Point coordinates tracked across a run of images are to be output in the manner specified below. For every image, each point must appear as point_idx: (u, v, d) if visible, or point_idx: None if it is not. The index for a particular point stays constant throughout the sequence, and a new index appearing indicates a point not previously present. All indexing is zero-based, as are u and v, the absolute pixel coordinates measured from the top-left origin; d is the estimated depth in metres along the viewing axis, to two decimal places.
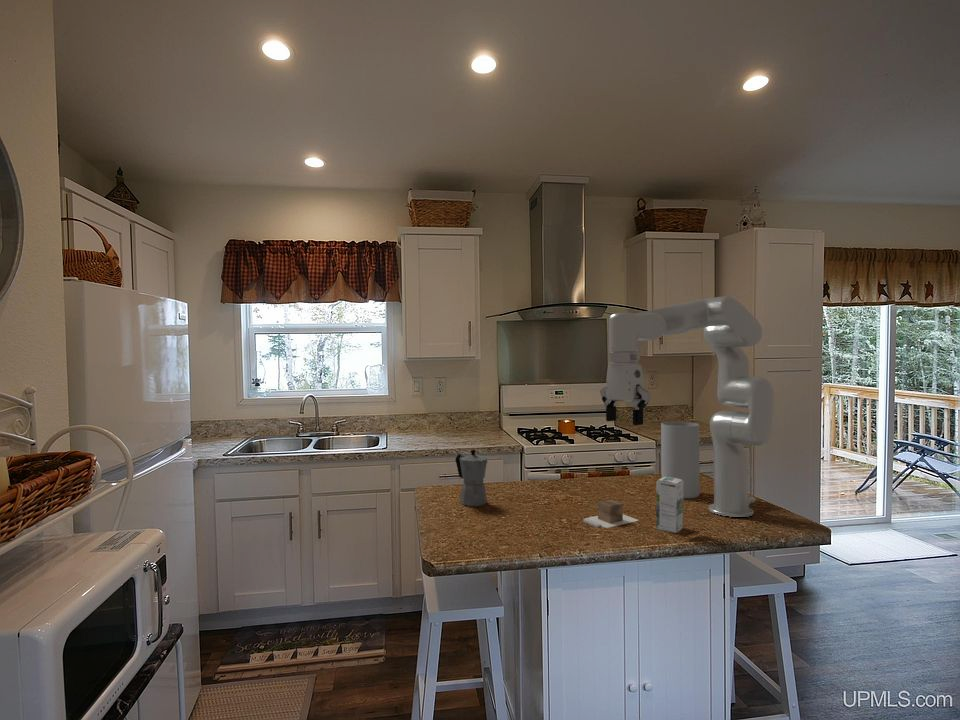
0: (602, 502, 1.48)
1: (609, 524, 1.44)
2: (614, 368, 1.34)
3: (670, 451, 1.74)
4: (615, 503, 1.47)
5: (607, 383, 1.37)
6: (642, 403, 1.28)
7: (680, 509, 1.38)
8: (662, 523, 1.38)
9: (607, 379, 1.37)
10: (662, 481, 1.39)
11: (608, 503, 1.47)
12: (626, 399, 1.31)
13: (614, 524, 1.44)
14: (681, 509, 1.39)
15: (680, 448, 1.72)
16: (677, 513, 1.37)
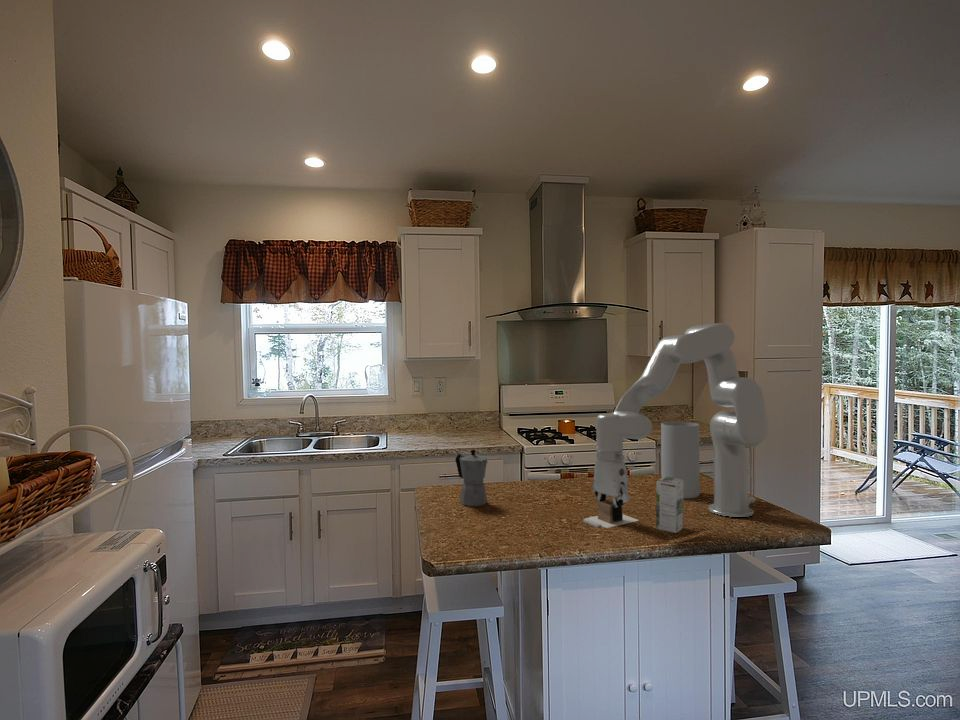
0: (602, 502, 1.48)
1: (609, 524, 1.44)
2: (601, 465, 1.47)
3: (670, 451, 1.74)
4: None
5: (595, 476, 1.50)
6: (620, 502, 1.43)
7: (680, 509, 1.38)
8: (662, 523, 1.38)
9: (595, 473, 1.50)
10: (662, 481, 1.39)
11: (608, 503, 1.47)
12: (611, 495, 1.44)
13: (614, 524, 1.44)
14: (681, 509, 1.39)
15: (680, 448, 1.72)
16: (677, 513, 1.37)
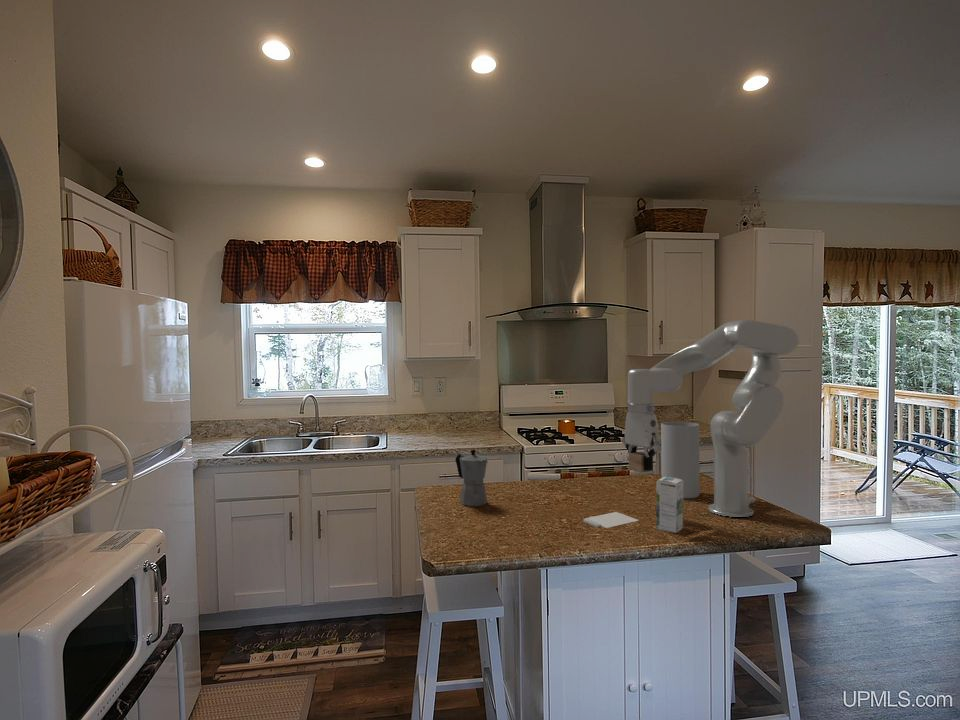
0: (633, 453, 1.55)
1: (609, 524, 1.44)
2: (633, 417, 1.54)
3: (670, 451, 1.74)
4: None
5: (626, 429, 1.56)
6: (652, 452, 1.49)
7: (680, 509, 1.38)
8: (662, 523, 1.38)
9: (626, 426, 1.57)
10: (662, 481, 1.39)
11: (639, 454, 1.53)
12: (643, 445, 1.51)
13: (614, 524, 1.44)
14: (681, 509, 1.39)
15: (680, 448, 1.72)
16: (677, 513, 1.37)
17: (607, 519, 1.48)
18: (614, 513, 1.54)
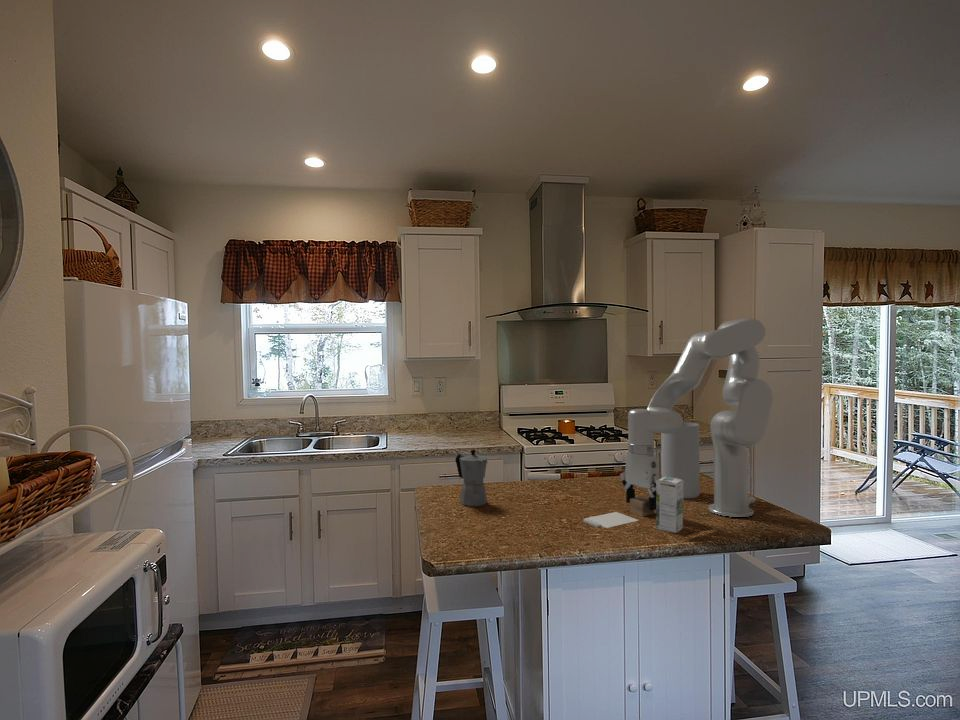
0: (634, 499, 1.55)
1: (609, 524, 1.44)
2: (633, 458, 1.54)
3: (670, 451, 1.74)
4: (647, 500, 1.53)
5: (626, 469, 1.56)
6: None
7: (680, 509, 1.38)
8: (662, 523, 1.38)
9: (626, 465, 1.57)
10: (662, 481, 1.39)
11: (640, 500, 1.53)
12: (644, 486, 1.51)
13: (614, 524, 1.44)
14: (681, 509, 1.39)
15: (680, 448, 1.72)
16: (677, 513, 1.37)
17: (607, 519, 1.48)
18: (614, 513, 1.54)
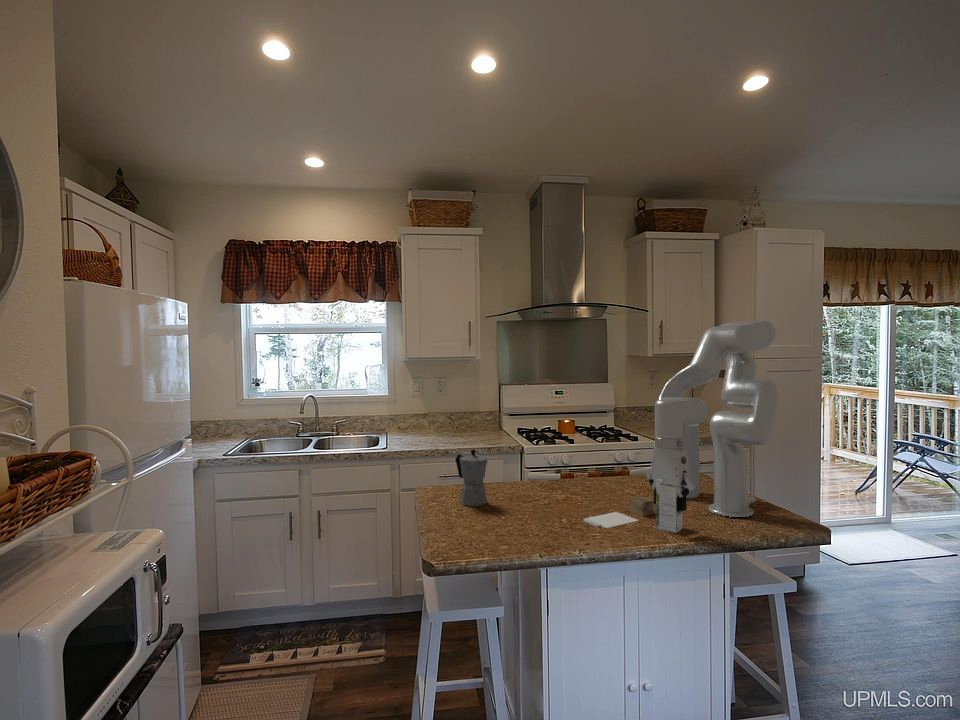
0: (634, 499, 1.55)
1: (609, 524, 1.44)
2: (660, 453, 1.39)
3: None
4: (647, 500, 1.53)
5: (652, 465, 1.42)
6: (686, 492, 1.34)
7: None
8: (662, 523, 1.38)
9: (652, 461, 1.42)
10: (662, 481, 1.39)
11: (640, 500, 1.53)
12: (673, 484, 1.36)
13: (614, 524, 1.44)
14: None
15: None
16: (677, 513, 1.37)
17: (607, 519, 1.48)
18: (614, 513, 1.54)
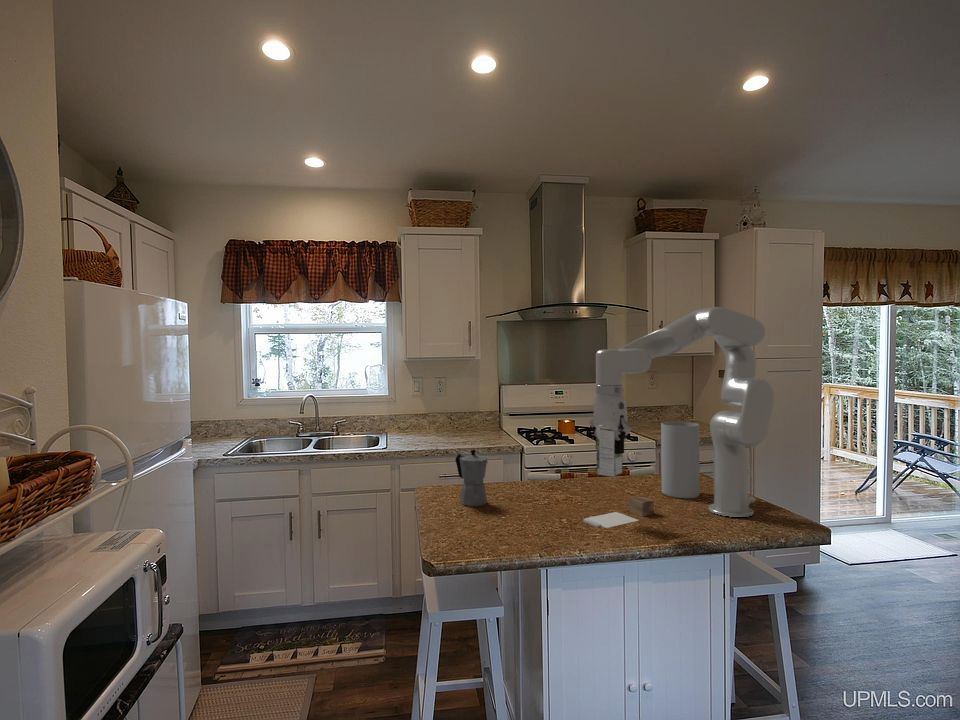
0: (634, 499, 1.55)
1: (609, 524, 1.44)
2: (601, 400, 1.47)
3: (670, 451, 1.74)
4: (647, 500, 1.53)
5: (594, 413, 1.50)
6: (623, 434, 1.42)
7: None
8: (601, 466, 1.46)
9: (594, 409, 1.50)
10: (601, 426, 1.46)
11: (640, 500, 1.53)
12: (611, 428, 1.44)
13: (614, 524, 1.44)
14: None
15: (680, 448, 1.72)
16: (615, 456, 1.44)
17: (607, 519, 1.48)
18: (614, 513, 1.54)
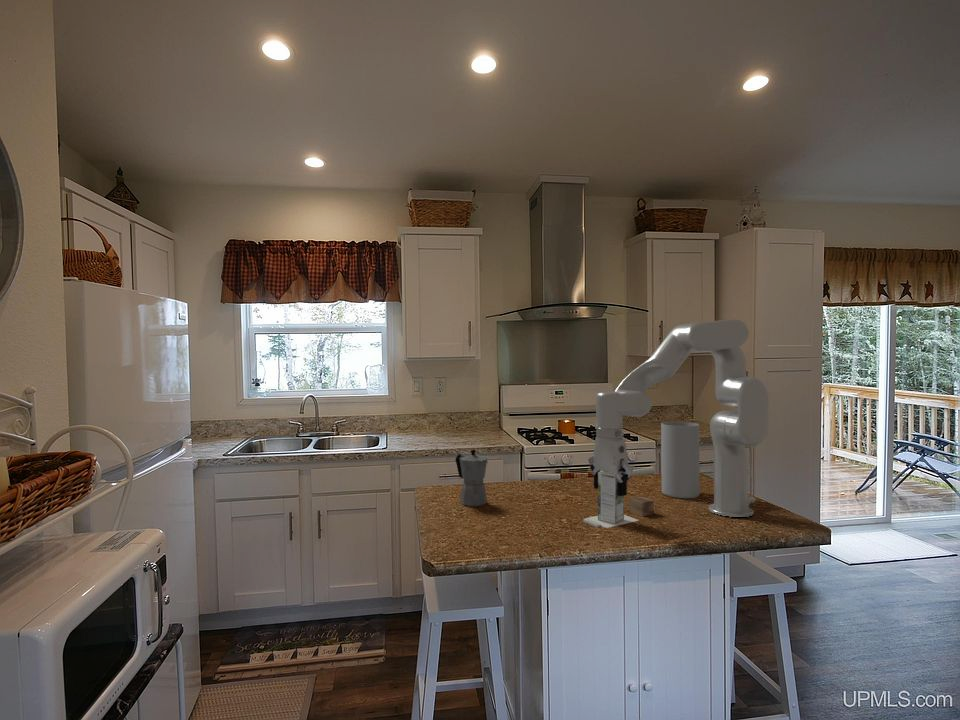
0: (634, 499, 1.55)
1: (609, 524, 1.44)
2: (601, 442, 1.47)
3: (670, 451, 1.74)
4: (647, 500, 1.53)
5: (594, 454, 1.50)
6: (625, 477, 1.41)
7: (619, 499, 1.46)
8: (603, 512, 1.46)
9: (594, 451, 1.50)
10: (603, 472, 1.46)
11: (640, 500, 1.53)
12: (611, 472, 1.44)
13: (614, 524, 1.44)
14: (621, 499, 1.46)
15: (680, 448, 1.72)
16: (616, 502, 1.44)
17: None
18: None
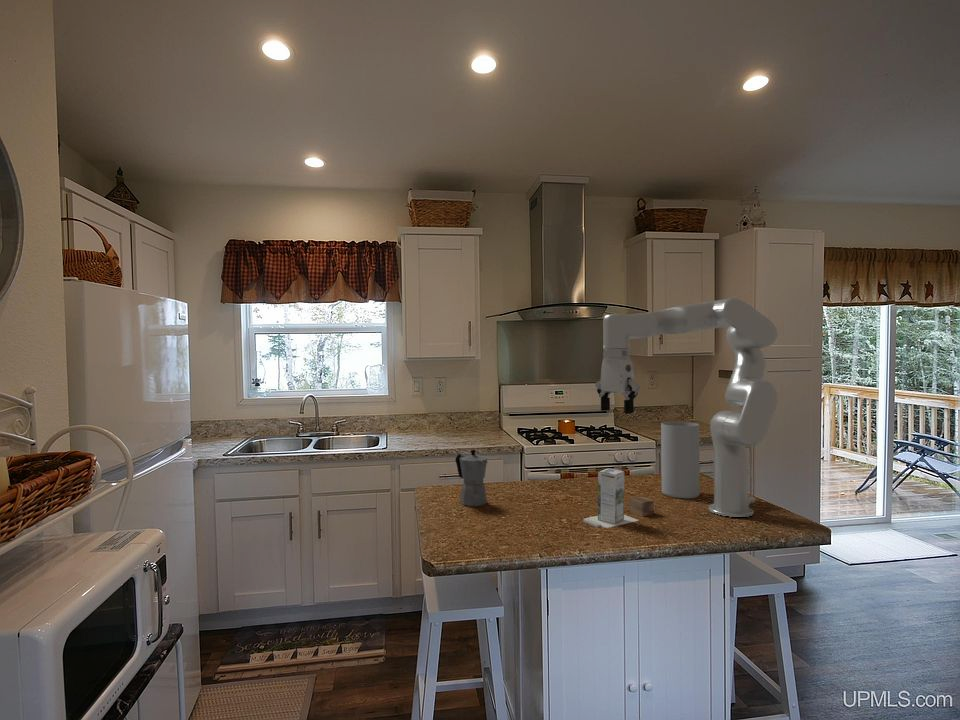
0: (634, 499, 1.55)
1: (609, 524, 1.44)
2: (608, 363, 1.50)
3: (670, 451, 1.74)
4: (647, 500, 1.53)
5: (601, 377, 1.53)
6: (632, 394, 1.44)
7: (620, 499, 1.46)
8: (603, 512, 1.46)
9: (601, 373, 1.53)
10: (603, 472, 1.46)
11: (640, 500, 1.53)
12: (618, 391, 1.47)
13: (614, 524, 1.44)
14: (621, 499, 1.46)
15: (680, 448, 1.72)
16: (616, 502, 1.44)
17: None
18: None
